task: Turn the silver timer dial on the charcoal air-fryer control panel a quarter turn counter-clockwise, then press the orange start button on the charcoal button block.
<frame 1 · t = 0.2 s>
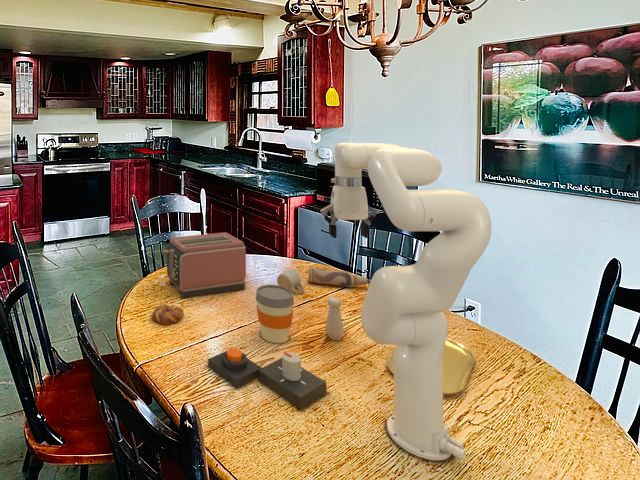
hand: (348, 236, 124), 37 cm above the table, tool pointing down, fingers open, 9 cm apart
reusable coffee cup: (275, 336, 135), on the table
decorative bottle: (337, 286, 176), on the table
serving platter: (430, 364, 119), on the table
toaster: (201, 286, 177), on the table
salt shaker: (334, 337, 134), on the table
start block: (234, 370, 116), on the table
start button: (234, 355, 116), point 4 cm above the table, slide at 0.1 cm
ceramic mug: (291, 290, 173), on the table
braided bread roll: (167, 318, 148), on the table
timer knob: (291, 365, 109), point 6 cm above the table, hinge at 0.0°
fryer panel: (291, 386, 109), on the table
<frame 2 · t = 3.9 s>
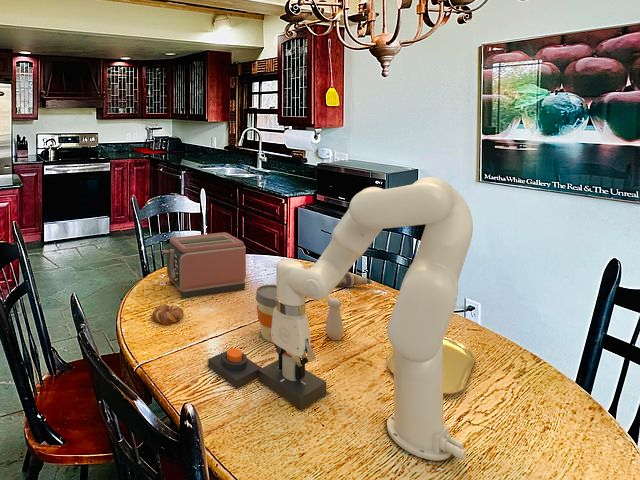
hand: (291, 372, 109), 4 cm above the table, tool pointing down, fingers closed on timer knob, 4 cm apart
timer knob: (291, 365, 109), point 6 cm above the table, hinge at 0.0°, touching gripper
everything else where it was.
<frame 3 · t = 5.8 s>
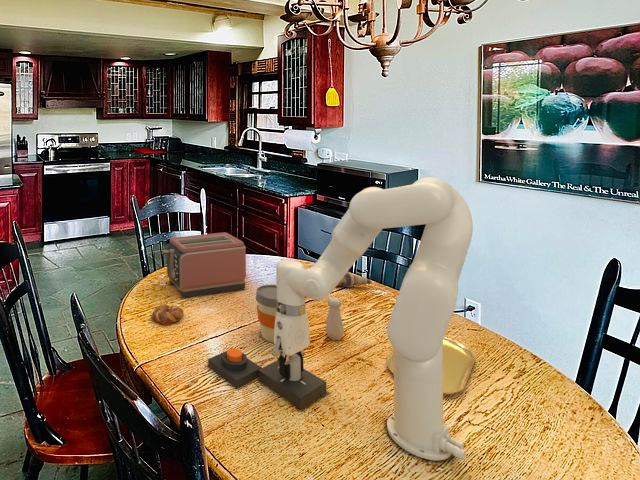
hand: (291, 372, 109), 4 cm above the table, tool pointing down, fingers closed on timer knob, 4 cm apart
timer knob: (291, 365, 109), point 6 cm above the table, hinge at 90.2°, touching gripper
everything else where it was.
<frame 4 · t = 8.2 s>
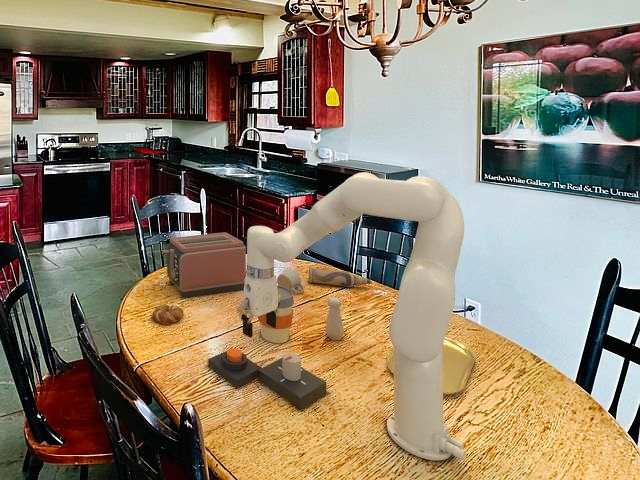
hand: (259, 330, 113), 13 cm above the table, tool pointing down, fingers open, 9 cm apart
timer knob: (291, 365, 109), point 6 cm above the table, hinge at 91.1°
everything else where it was.
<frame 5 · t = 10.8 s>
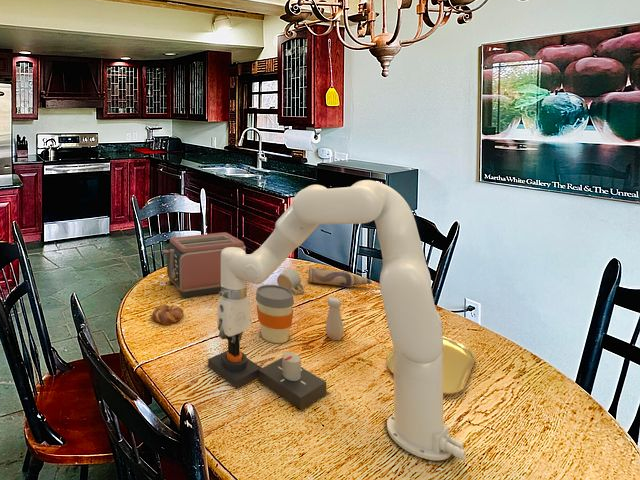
hand: (233, 353, 116), 5 cm above the table, tool pointing down, fingers closed
start button: (234, 356, 116), point 4 cm above the table, slide at -0.3 cm, touching gripper
everything else where it was.
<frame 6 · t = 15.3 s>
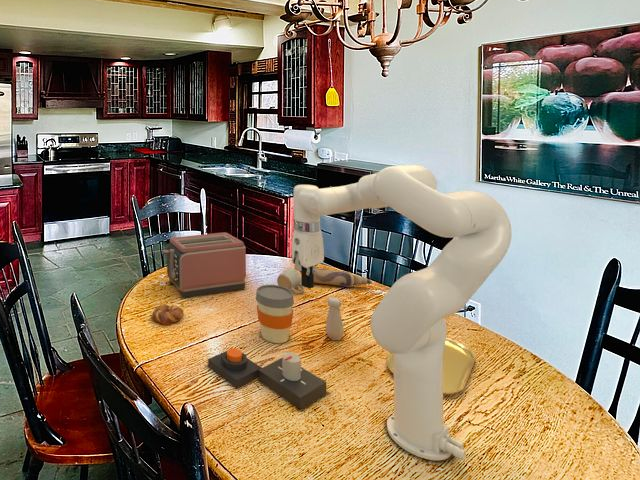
hand: (307, 286, 120), 23 cm above the table, tool pointing down, fingers closed
start button: (234, 355, 116), point 4 cm above the table, slide at 0.1 cm
everything else where it was.
at the end: timer knob at +91° (first picture: +0°); start button pushed in 1.1 cm at the most during the clip and back out by the end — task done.
